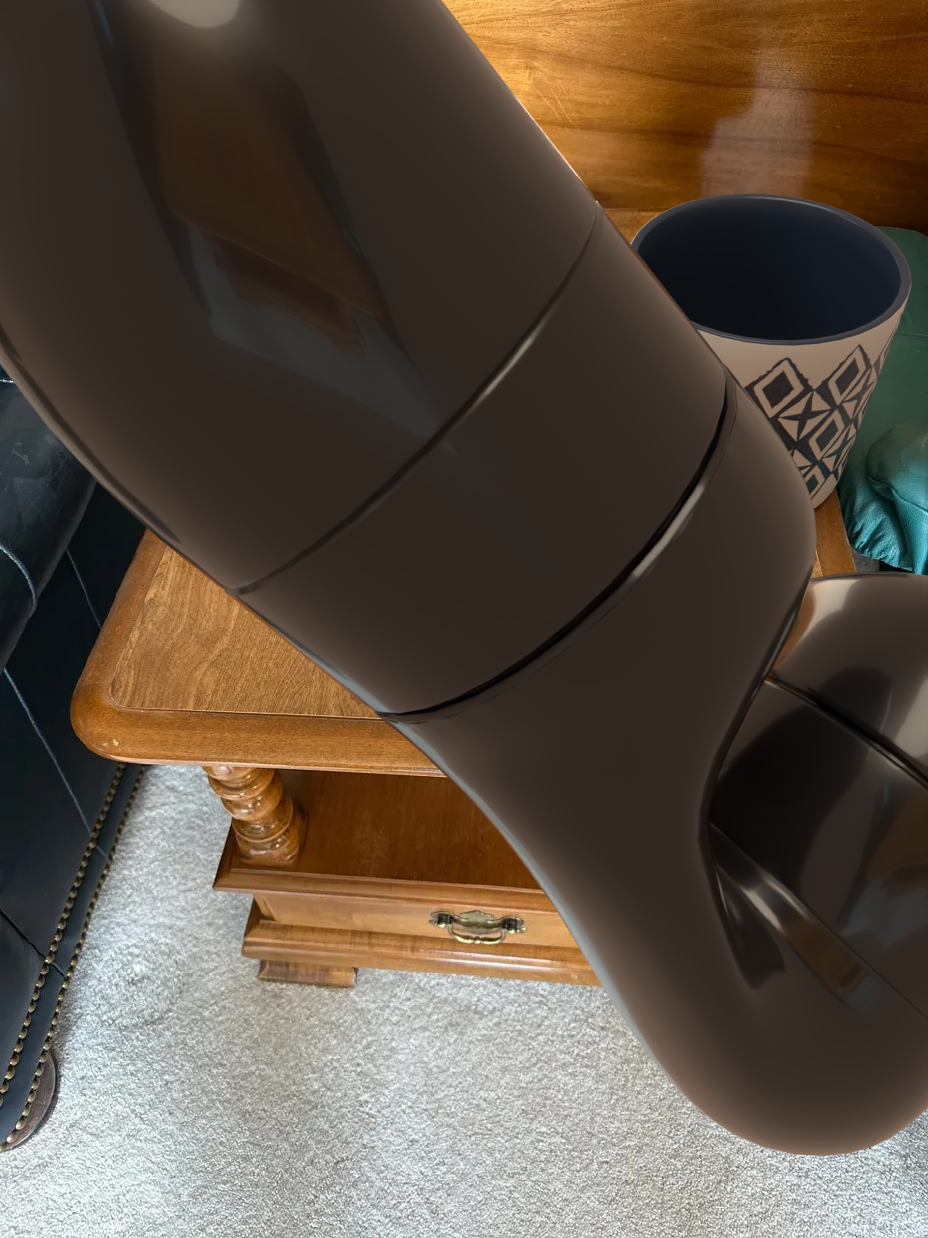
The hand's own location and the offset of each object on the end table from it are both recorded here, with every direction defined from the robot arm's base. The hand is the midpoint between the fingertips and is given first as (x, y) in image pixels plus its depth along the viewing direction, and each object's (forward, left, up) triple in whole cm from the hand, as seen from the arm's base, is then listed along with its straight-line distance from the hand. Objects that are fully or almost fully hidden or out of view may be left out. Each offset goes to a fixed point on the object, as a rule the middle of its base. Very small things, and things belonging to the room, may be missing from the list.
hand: (535, 634), depth 49 cm
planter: (+7, +30, -11) cm, 32 cm away
